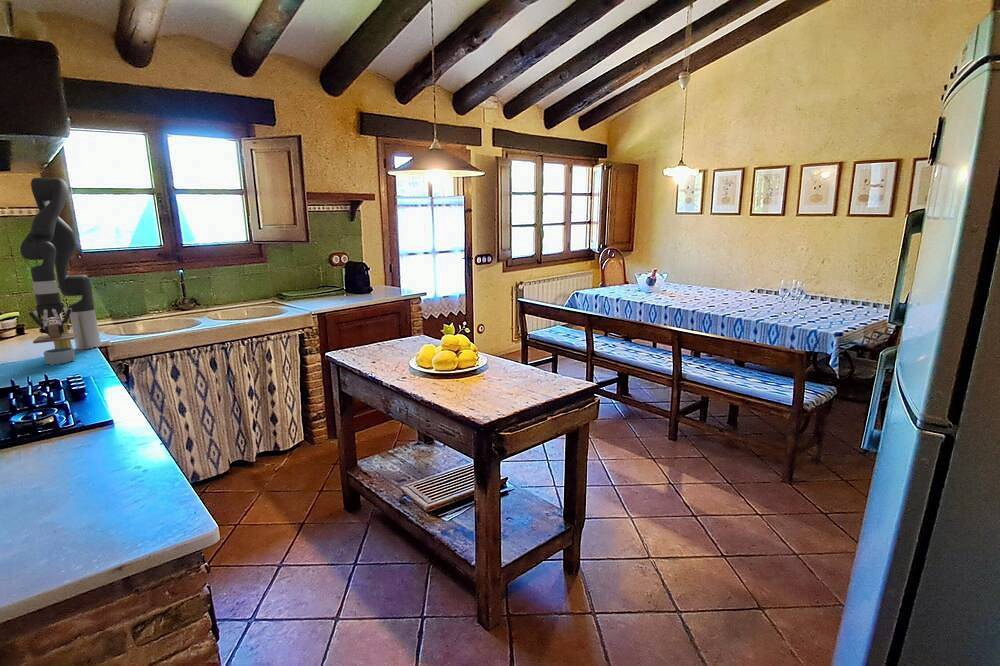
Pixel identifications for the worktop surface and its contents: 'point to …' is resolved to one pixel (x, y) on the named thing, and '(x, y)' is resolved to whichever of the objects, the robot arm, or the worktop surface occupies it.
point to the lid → (54, 335)
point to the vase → (64, 342)
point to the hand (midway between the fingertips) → (55, 334)
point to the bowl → (59, 355)
